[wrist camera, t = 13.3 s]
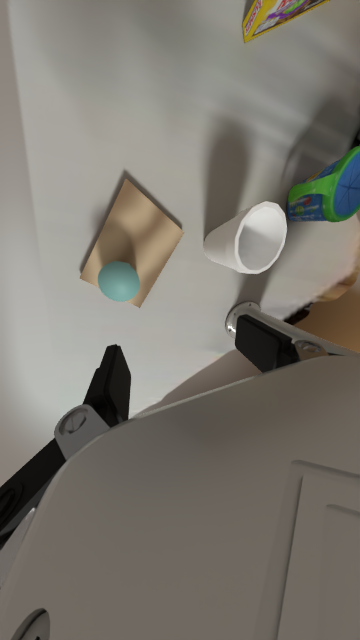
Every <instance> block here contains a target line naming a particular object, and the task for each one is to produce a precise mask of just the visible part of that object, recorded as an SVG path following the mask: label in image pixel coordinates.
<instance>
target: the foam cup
mask: <svg viewBox="0 0 360 640" xmlns="http://www.w3.org/2000/svg"><path fill="white" fill-rule="evenodd" d="M286 233H287V224H286V217H285V213H284V212H283V211H282V209H281V208H280V207H279V205H278V204H276V203H272V202H268V201H265V202H262V203H260V204H257V205H255V206H252V207H250V208H248V209H246V210H244V211H241V212H240V213H239V214H238V215H237V216H236V217H234V218H232V219H231V220H229V221H227V222H226V223H224V224H223V225H221V226H219V227H218V228H216V229H214V230H213V231H211V232H210V233H209V234H208V235H207V236H206V238H205V241H204V253H205V255H206V257H207V258H209V259H210V260H212V261H214V262H217V263H219V264H222V265H225V266H227V267H230V268H232V269H235V270H236V271H237V272H241V273H247V274H259V273H261V272H263V271H265V270H267V269H268V268H269V267H270V266H271V265H272V264H273V263H274V262H275V261H276V260H277V258H278V257H279V255H280V252H281V250H282V248H283V246H284V244H285V238H286Z"/></svg>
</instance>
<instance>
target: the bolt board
mask: <svg viewBox="0 0 360 640" xmlns="http://www.w3.org/2000/svg"><path fill="white" fill-rule="evenodd" d="M183 234H184V232H183V231H182V230H181V229H180V228H179V227H178V226H177V225H176V224H175V223H174V222H172V221H171V220H170V219H169V218H168V217H167V216H166V215H165V214H164V213H163V212H162V211H161V210H160V209H159V208H157V207H156V206H155V205H154V204H153V203H152V202H151V201H150V200H149V199H148V198H147V197H146V196H145V195H143V194H142V193H141V192H140V191H139V190H138V189H137V188H136V187H135V186H134V185H133V184H132V183H131V182H130V181H128V180H127V179H125V181H124V183H123V186H122V188H121V190H120V192H119V194H118V196H117V199H116V201H115V203H114V205H113V207H112V209H111V211H110V214H109V216H108V218H107V220H106V222H105V224H104V227H103V229H102V231H101V233H100V235H99V237H98V239H97V242H96V244H95V246H94V248H93V250H92V252H91V255H90V257H89V259H88V261H87V263H86V265H85V267H84V270H83V272H82V274H81V276H80V279H82V280H84V281H86V282H88V283H91V284H93V285H95V286H97V287H99V285H98V274H99V272H100V270H101V269H102V267H104V266H105V265H106V264H108V263H111V262H113V261H120V262H125V263H129V264H130V265H131V266H132V267H133V269H134V270H135V271H136V272H137V274H138V276H139V281H140V287H139V291H138V293H137V294H136V295H135V297H133V298H132V299H130V300H128V301H127V302H129V303H131V304H133V305H135V306H137V307H139V308H140V307H141V305H142V303H143V301H144V300H145V298H146V296H147V295H148V293H149V291H150V290H151V288H152V286H153V285H154V283H155V281H156V279H157V278H158V276H159V274H160V273H161V271H162V269H163V268H164V266H165V264H166V263H167V261H168V259H169V258H170V256H171V254H172V252H173V251H174V249H175V247H176V246H177V244H178V242H179V241H180V239H181V237H182V236H183Z"/></svg>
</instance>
